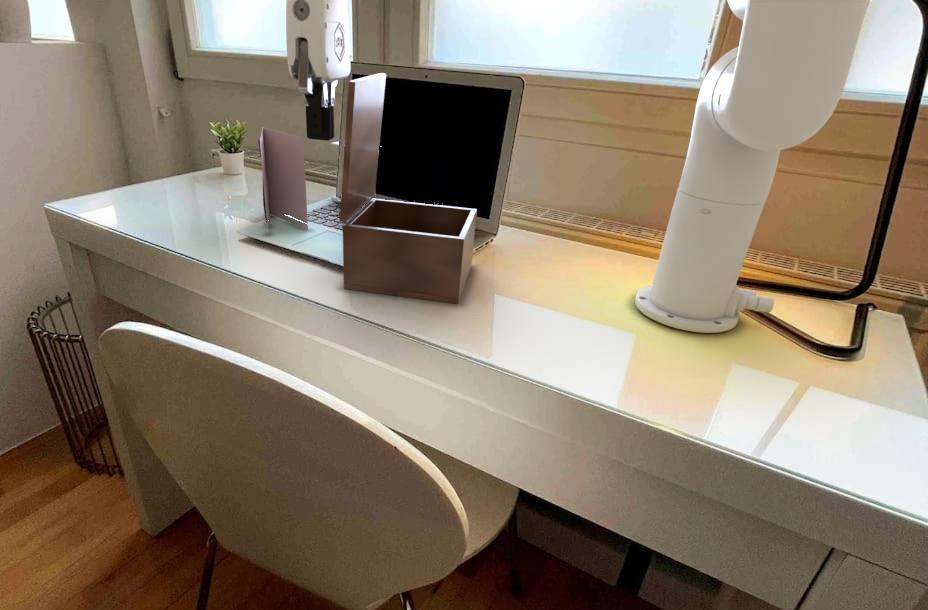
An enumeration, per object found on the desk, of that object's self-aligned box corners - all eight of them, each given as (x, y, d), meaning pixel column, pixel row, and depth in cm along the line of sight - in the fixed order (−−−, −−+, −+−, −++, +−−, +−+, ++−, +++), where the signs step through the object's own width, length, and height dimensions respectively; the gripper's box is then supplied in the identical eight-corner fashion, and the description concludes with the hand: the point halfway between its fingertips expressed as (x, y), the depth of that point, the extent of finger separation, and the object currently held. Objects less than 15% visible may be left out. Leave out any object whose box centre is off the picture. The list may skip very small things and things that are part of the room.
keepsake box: (471, 266, 85) (477, 209, 81) (458, 304, 74) (464, 239, 69) (371, 254, 88) (372, 197, 84) (343, 288, 76) (342, 225, 72)
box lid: (386, 73, 75) (380, 72, 75) (355, 82, 63) (348, 81, 63) (374, 195, 83) (369, 194, 83) (345, 222, 72) (339, 221, 72)
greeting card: (265, 214, 103) (257, 127, 95) (306, 213, 104) (302, 127, 97) (262, 235, 93) (253, 140, 86) (308, 234, 95) (303, 140, 87)
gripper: (323, -33, 58) (328, 152, 67) (365, -22, 71) (364, 132, 80) (255, -36, 59) (269, 146, 68) (308, -25, 72) (314, 127, 81)
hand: (320, 138), depth 74 cm, fingers closed
